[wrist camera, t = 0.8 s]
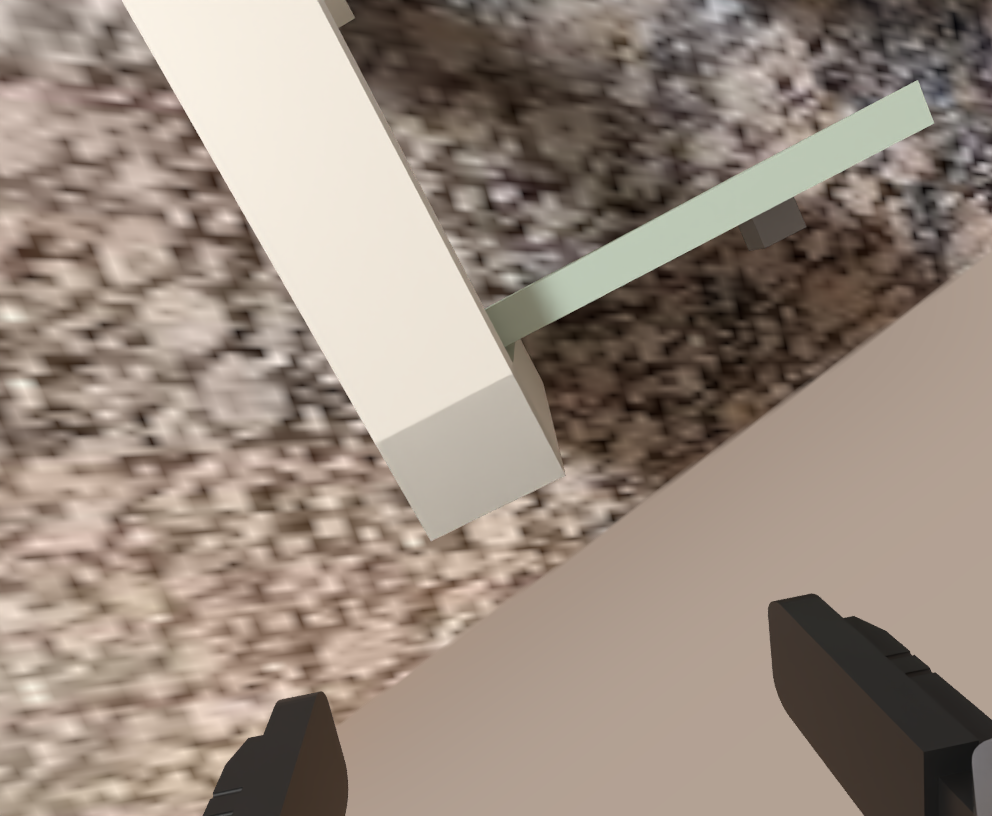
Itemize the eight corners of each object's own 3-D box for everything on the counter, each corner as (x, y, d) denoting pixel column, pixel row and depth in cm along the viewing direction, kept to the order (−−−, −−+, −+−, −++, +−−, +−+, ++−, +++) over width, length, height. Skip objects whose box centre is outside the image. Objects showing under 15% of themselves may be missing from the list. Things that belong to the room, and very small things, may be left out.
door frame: (249, 0, 29) (-74, -341, 13) (322, -46, 28) (77, -458, 13) (474, 418, 32) (431, 541, 17) (543, 382, 32) (565, 475, 16)
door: (741, 169, 29) (916, 76, 16) (766, 226, 29) (955, 179, 17) (451, 324, 31) (402, 349, 18) (478, 375, 31) (449, 435, 19)
